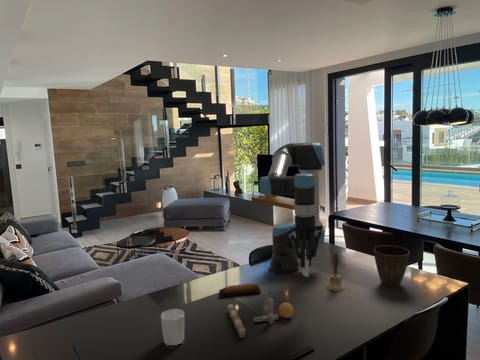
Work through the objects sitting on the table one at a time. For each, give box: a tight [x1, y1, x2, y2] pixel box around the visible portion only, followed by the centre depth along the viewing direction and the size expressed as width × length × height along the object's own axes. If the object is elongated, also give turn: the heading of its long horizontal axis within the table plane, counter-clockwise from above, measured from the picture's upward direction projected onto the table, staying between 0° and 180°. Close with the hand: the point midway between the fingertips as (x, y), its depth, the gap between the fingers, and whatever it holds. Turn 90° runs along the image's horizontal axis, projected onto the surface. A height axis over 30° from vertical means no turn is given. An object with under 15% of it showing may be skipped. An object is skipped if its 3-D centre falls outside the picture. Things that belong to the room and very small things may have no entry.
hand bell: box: [325, 252, 346, 292], centre depth 162 cm, size 8×8×16 cm
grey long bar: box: [227, 304, 247, 335], centre depth 134 cm, size 20×2×3 cm, turn 14°
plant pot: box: [373, 245, 411, 289], centre depth 163 cm, size 15×15×16 cm
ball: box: [278, 302, 294, 319], centre depth 138 cm, size 6×6×6 cm
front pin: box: [253, 313, 279, 322], centre depth 136 cm, size 2×2×9 cm
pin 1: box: [262, 291, 269, 316], centre depth 139 cm, size 2×2×9 cm
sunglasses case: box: [218, 283, 261, 297], centre depth 161 cm, size 18×7×7 cm
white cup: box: [160, 308, 185, 346], centre depth 124 cm, size 8×8×10 cm
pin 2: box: [267, 298, 275, 323], centre depth 134 cm, size 2×2×9 cm
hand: (305, 275), depth 139 cm, fingers closed
